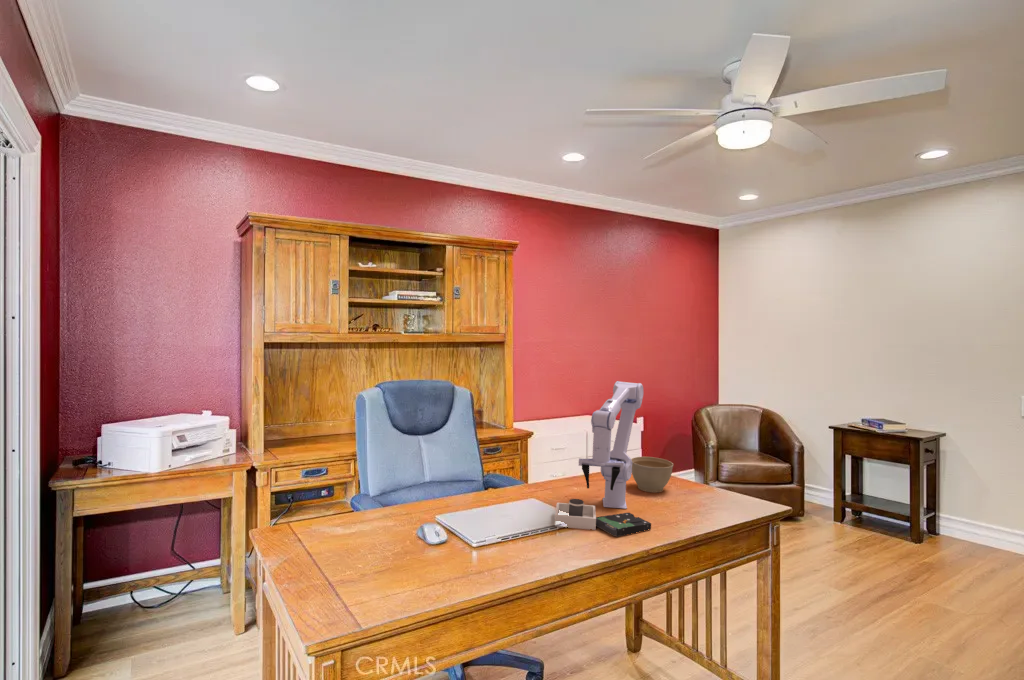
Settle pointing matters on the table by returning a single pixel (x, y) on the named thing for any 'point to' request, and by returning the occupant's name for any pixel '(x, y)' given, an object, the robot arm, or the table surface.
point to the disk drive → (622, 524)
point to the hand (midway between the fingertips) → (599, 488)
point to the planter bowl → (651, 473)
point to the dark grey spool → (576, 507)
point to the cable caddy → (577, 517)
